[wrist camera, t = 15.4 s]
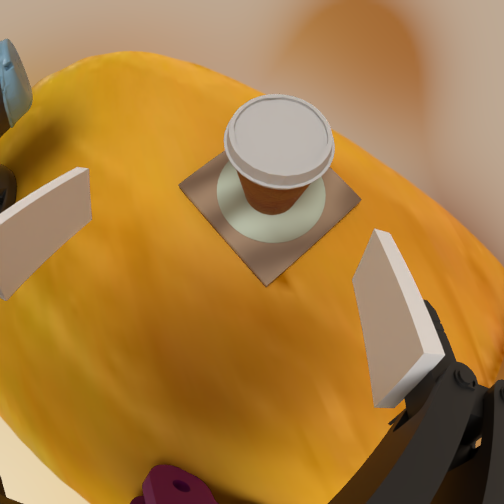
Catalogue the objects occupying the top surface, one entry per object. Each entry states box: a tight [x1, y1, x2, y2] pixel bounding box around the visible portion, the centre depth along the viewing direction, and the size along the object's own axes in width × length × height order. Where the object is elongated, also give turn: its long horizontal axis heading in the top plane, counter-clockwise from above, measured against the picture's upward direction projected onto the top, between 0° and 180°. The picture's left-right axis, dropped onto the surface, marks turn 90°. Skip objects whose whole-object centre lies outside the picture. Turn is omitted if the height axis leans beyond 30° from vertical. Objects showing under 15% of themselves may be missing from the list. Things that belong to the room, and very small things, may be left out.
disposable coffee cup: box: [224, 94, 335, 215], centre depth 28 cm, size 10×10×12 cm
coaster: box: [179, 151, 361, 287], centre depth 35 cm, size 16×16×1 cm
